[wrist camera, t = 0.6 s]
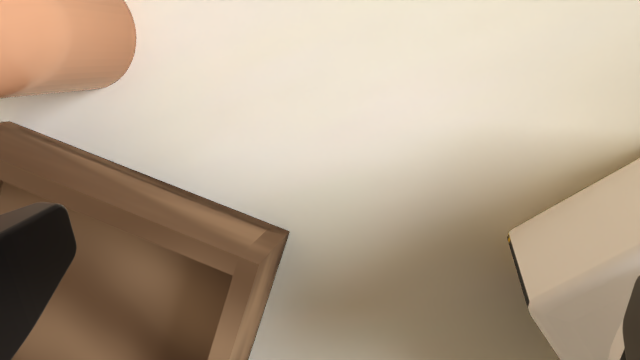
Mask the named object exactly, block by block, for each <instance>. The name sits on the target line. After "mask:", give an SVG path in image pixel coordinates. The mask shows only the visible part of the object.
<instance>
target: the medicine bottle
mask: <svg viewBox="0 0 640 360" xmlns="http://www.w3.org/2000/svg"><path fill="white" fill-rule="evenodd" d="M507 239H508V242H509V245H510V249H511V252H512V256H513V259H514V262H515V266H516V269H517V273H518V276H519V279H520V283H521V286H522V290H523V293H524V296H525V300H526V303H527V307H528V310H529V313H530V315H531V317H532V318H533V320H534V321H535V323H536V324H537V326H538V327H539V328H540V330H541V331H542V333H543V334H544V336H545V337H546V339H547V340H548V342H549V343H550V345H551V346H552V348H553V349H554V351H555V352H556V354H557V355H558V357H559V358H560V360H626V354H625V347H624V340H623V329H622V328H623V319H624V315H625V312H626V309H627V306H628V303H629V300H630V296H631V293H632V290H633V287H634V284H635V281H636V279H637V278H638V276H639V275H640V158H639V159H637V160H635V161H633V162H632V163H630V164H628V165H626V166H624V167H623V168H621V169H619V170H617V171H616V172H614V173H612V174H610V175H608V176H607V177H605V178H603V179H601V180H599V181H598V182H596V183H594V184H592V185H590V186H589V187H587V188H585V189H583V190H581V191H580V192H578V193H576V194H574V195H572V196H571V197H569V198H567V199H565V200H563V201H562V202H560V203H558V204H556V205H554V206H553V207H551V208H549V209H547V210H545V211H544V212H542V213H540V214H538V215H536V216H535V217H533V218H531V219H529V220H527V221H526V222H524V223H522V224H520V225H518V226H517V227H515V228H513V229H512V230H511V231H510V232H509V233H508V236H507Z"/></svg>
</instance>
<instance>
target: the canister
mask: <svg viewBox="0 0 640 360" xmlns="http://www.w3.org/2000/svg"><path fill="white" fill-rule="evenodd" d="M135 47H136V30H135V24H134V21H133V17H132V15H131V12H130V10H129V8H128V6H127V5H126V3H125V2H124V0H0V98H8V97H18V96H29V95H39V94H49V93H60V92H70V91H81V90H91V89H99V88H104V87H107V86H109V85H111V84H113V83H115V82H116V81H118V80H119V79H120V78H121V77H122V76H123V75H124V74H125V72H126V71H127V69H128V68H129V66H130V64H131V62H132V60H133V56H134V53H135Z"/></svg>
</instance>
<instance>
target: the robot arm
mask: <svg viewBox="0 0 640 360" xmlns="http://www.w3.org/2000/svg"><path fill="white" fill-rule="evenodd" d="M76 249H77V244H76V239H75V236H74V232H73V229H72V225H71V221H70V218H69V214H68V211H67V209H66V208H65V207H64V206H63V205H61V204H58V203H50V202H36V203H33V204H30V205H27V206H24V207H21V208H18V209H15V210H12V211H9V212H6V213H3V214H0V360H12V358H13V357H14V355H15V354H16V353H17V351H18V350H19V348H20V347H21V346H22V344H23V343H24V341H25V340H26V338H27V337H28V335H29V334H30V333H31V331H32V329H33V328H34V326H35V325H36V323H37V321H38V320H39V318H40V316H41V315H42V313H43V311H44V309H45V308H46V306H47V304H48V302H49V301H50V299H51V297H52V296H53V294H54V292H55V290H56V289H57V287H58V285H59V283H60V282H61V280H62V278H63V276H64V275H65V273H66V271H67V270H68V268H69V266H70V264H71V263H72V261H73V259H74V257H75V254H76ZM622 329H623V340H624V347H625V354H626V360H640V275H639V276H638V278H637V279H636V281H635V284H634V287H633V290H632V293H631V296H630V300H629V303H628V306H627V309H626V312H625V315H624V319H623V328H622Z"/></svg>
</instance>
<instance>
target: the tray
mask: <svg viewBox="0 0 640 360" xmlns="http://www.w3.org/2000/svg"><path fill="white" fill-rule="evenodd" d="M36 202H50V203H58V204H61V205H63V206H64V207H65V208H66V209H67V211H68V214H69V218H70V221H71V225H72V229H73V232H74V236H75V239H76V244H77V249H76V254H75V257H74V259H73V261H72V263H71V264H70V266H69V268H68V270H67V271H66V273H65V275H64V276H63V278H62V280H61V282H60V283H59V285H58V287H57V289H56V290H55V292H54V294H53V296H52V297H51V299H50V301H49V302H48V304H47V306H46V308H45V309H44V311H43V313H42V315H41V316H40V318H39V320H38V321H37V323H36V325H35V326H34V328H33V329H32V331H31V333H30V334H29V335H28V337H27V338H26V340H25V341H24V343H23V344H22V346H21V347H20V348H19V350H18V351H17V353H16V354H15V355H14V357H13V358H12V360H248V358H249V355H250V352H251V349H252V346H253V343H254V340H255V337H256V334H257V331H258V328H259V324H260V321H261V318H262V315H263V312H264V309H265V306H266V303H267V300H268V297H269V294H270V291H271V288H272V284H273V281H274V278H275V275H276V272H277V269H278V266H279V263H280V260H281V257H282V254H283V251H284V247H285V244H286V241H287V238H288V235H289V231H287V230H284V229H282V228H279V227H277V226H274V225H272V224H269V223H267V222H264V221H261V220H259V219H256V218H254V217H251V216H249V215H246V214H244V213H241V212H239V211H236V210H233V209H231V208H228V207H226V206H223V205H221V204H218V203H216V202H213V201H211V200H208V199H206V198H203V197H200V196H198V195H195V194H193V193H190V192H188V191H185V190H183V189H180V188H178V187H175V186H173V185H170V184H167V183H165V182H162V181H160V180H157V179H155V178H152V177H150V176H147V175H145V174H142V173H139V172H137V171H134V170H132V169H129V168H127V167H124V166H122V165H119V164H117V163H114V162H112V161H109V160H106V159H104V158H101V157H99V156H96V155H94V154H91V153H89V152H86V151H84V150H81V149H78V148H76V147H73V146H71V145H68V144H66V143H63V142H61V141H58V140H56V139H53V138H51V137H48V136H45V135H43V134H40V133H38V132H35V131H33V130H30V129H28V128H25V127H23V126H20V125H18V124H15V123H12V122H10V121H9V122H2V123H0V214H3V213H6V212H9V211H12V210H15V209H18V208H21V207H24V206H27V205H30V204H33V203H36Z"/></svg>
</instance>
